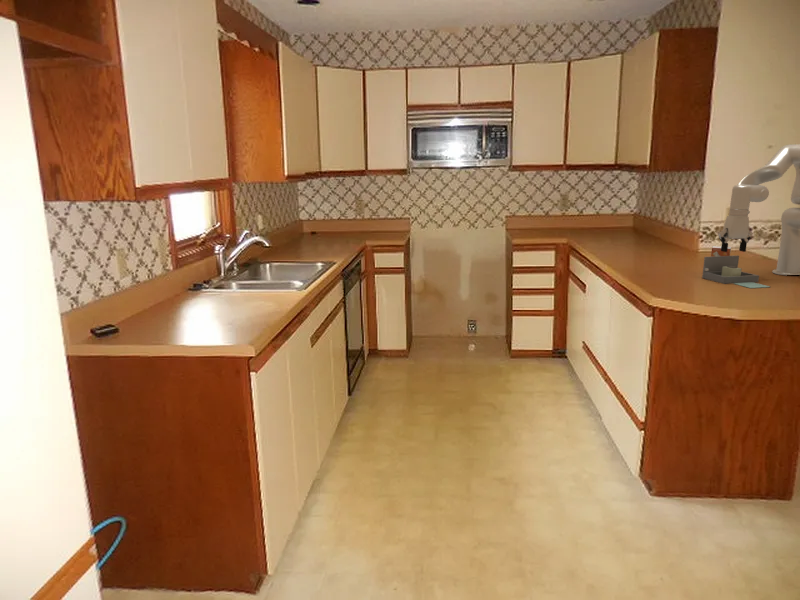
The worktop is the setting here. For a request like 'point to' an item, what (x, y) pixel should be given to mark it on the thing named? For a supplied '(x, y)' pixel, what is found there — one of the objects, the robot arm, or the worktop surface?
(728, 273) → the block
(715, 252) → the small box
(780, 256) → the robot arm
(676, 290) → the worktop surface
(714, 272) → the grey open box
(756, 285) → the mat
